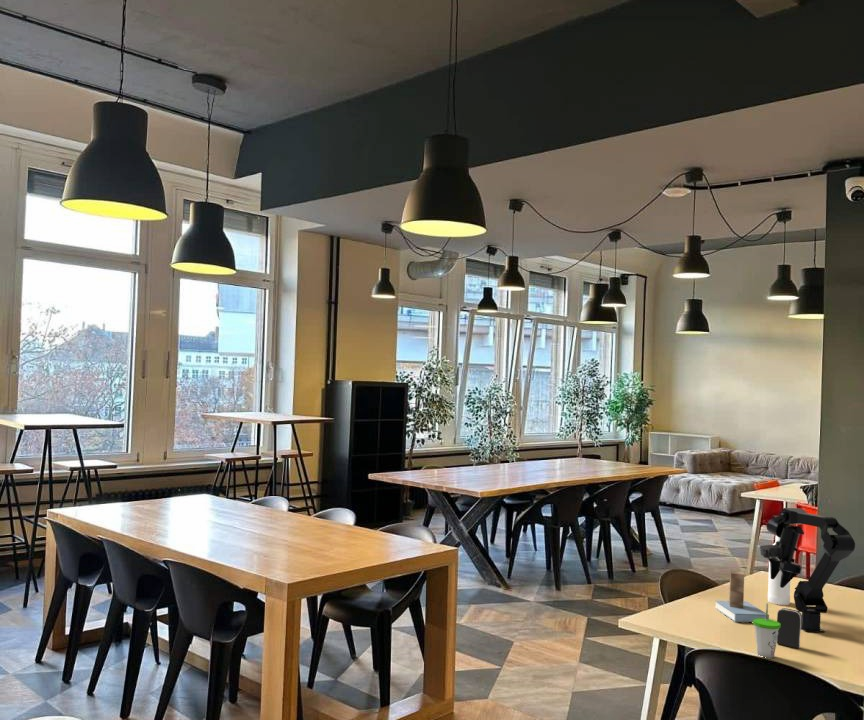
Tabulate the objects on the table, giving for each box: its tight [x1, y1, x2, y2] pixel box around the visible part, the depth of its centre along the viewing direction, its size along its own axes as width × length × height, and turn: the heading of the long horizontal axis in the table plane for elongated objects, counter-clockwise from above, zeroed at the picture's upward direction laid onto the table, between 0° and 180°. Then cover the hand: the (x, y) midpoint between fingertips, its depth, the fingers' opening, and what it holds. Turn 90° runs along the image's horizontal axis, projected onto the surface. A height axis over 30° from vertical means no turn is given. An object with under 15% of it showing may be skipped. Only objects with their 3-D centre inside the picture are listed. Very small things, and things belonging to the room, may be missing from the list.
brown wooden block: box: [728, 570, 745, 608], centre depth 281 cm, size 4×4×12 cm
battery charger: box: [776, 607, 802, 649], centre depth 248 cm, size 7×4×11 cm, turn 52°
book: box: [715, 600, 770, 623], centre depth 279 cm, size 17×12×3 cm
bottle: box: [767, 535, 791, 606], centre depth 301 cm, size 8×8×30 cm
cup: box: [752, 603, 781, 660], centre depth 236 cm, size 8×8×15 cm
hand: (776, 583), depth 281 cm, fingers open, 9 cm apart
